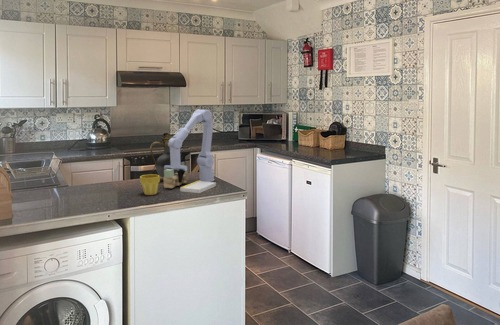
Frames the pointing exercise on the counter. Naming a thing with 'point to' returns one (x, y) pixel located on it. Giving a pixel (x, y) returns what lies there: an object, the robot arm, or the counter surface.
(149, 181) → the plant pot
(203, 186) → the dock
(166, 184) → the tan wooden bar
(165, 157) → the pitcher
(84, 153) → the counter surface
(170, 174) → the block
